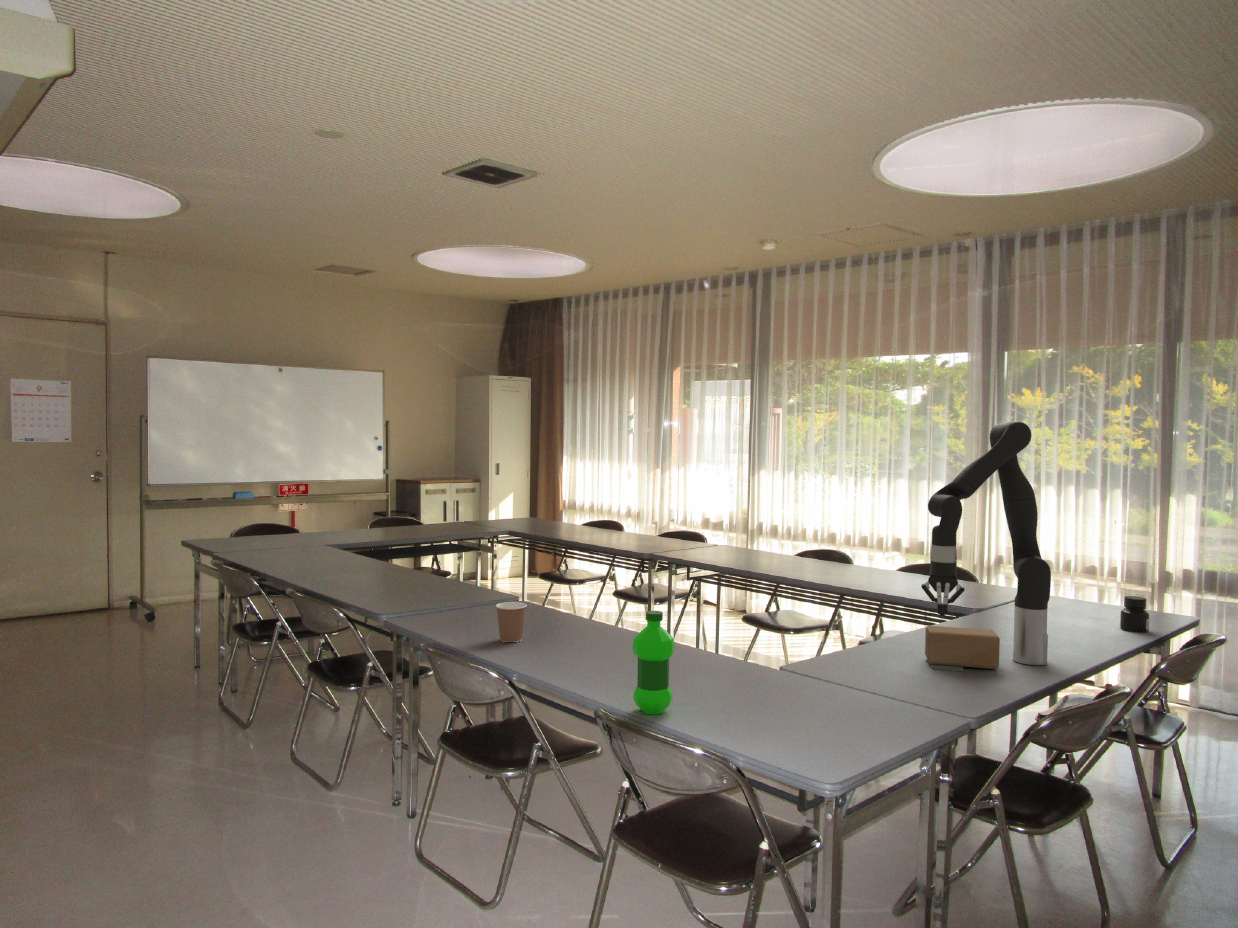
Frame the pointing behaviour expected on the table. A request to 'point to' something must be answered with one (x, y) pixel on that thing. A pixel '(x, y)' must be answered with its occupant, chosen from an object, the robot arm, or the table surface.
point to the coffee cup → (511, 620)
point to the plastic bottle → (653, 665)
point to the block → (962, 647)
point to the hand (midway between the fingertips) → (942, 615)
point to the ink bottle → (1134, 615)
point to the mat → (947, 667)
